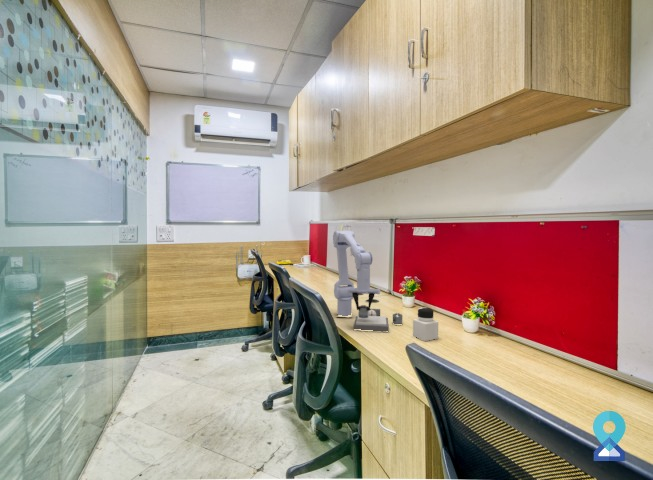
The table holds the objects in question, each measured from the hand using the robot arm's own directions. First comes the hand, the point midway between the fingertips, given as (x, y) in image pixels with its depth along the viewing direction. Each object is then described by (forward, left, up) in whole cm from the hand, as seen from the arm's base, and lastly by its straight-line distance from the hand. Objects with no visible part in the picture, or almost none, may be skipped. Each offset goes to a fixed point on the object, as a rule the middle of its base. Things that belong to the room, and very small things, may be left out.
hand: (363, 309), depth 140 cm
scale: (-4, +3, -8) cm, 10 cm away
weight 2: (-10, +15, -8) cm, 20 cm away
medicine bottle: (+8, +25, -9) cm, 28 cm away
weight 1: (-1, 0, -3) cm, 3 cm away
